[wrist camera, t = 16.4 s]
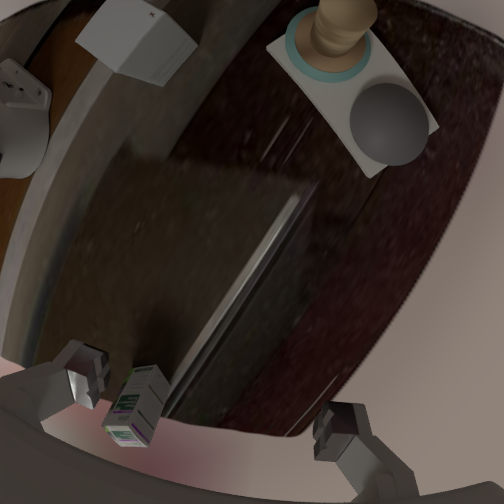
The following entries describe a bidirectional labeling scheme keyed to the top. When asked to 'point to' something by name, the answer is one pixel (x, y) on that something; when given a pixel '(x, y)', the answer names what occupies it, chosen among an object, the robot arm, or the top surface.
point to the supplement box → (137, 40)
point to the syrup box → (137, 407)
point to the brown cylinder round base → (335, 34)
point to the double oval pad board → (363, 102)
